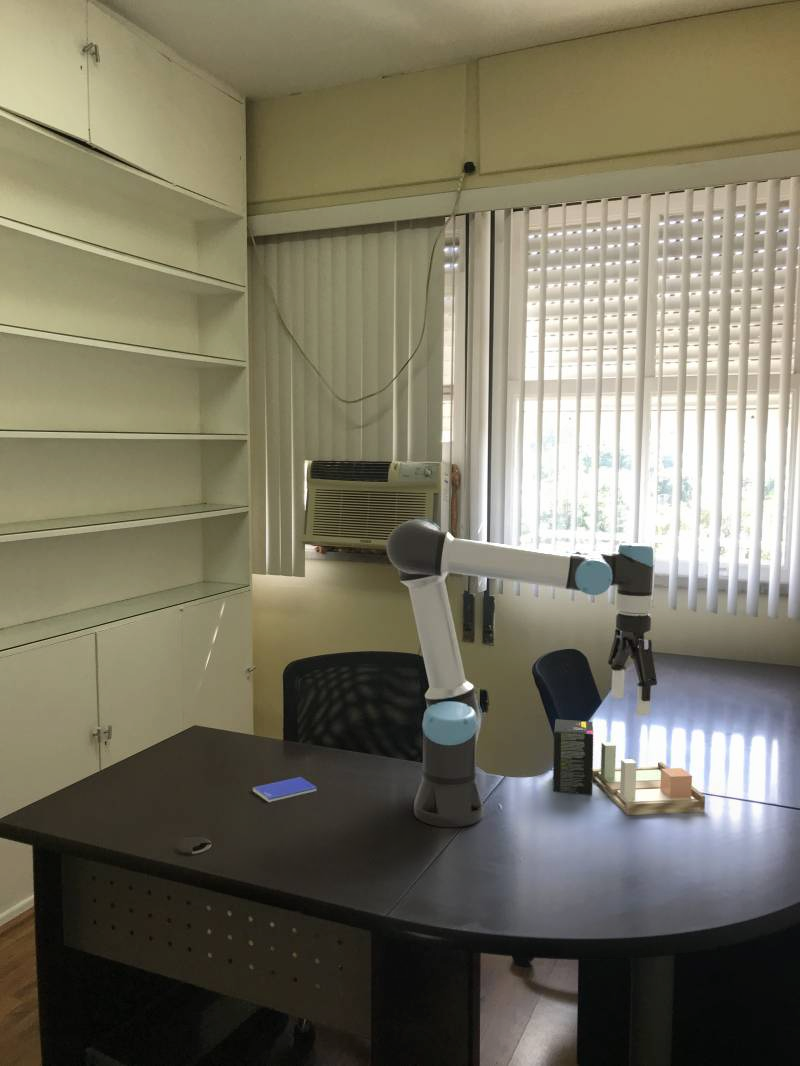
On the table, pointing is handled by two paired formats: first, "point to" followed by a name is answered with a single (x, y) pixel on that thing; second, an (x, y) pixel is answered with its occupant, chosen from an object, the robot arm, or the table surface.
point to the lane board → (654, 806)
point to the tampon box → (573, 756)
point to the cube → (676, 783)
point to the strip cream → (640, 795)
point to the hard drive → (284, 789)
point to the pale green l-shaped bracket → (612, 776)
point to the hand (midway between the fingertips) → (629, 706)
